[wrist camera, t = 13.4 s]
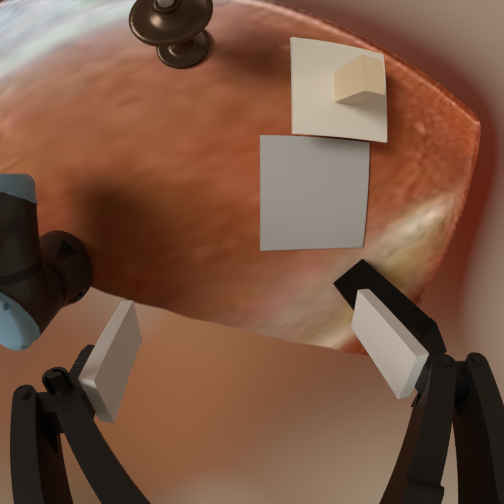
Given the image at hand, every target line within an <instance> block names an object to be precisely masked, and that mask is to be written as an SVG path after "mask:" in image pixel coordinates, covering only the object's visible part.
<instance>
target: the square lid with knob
mask: <svg viewBox="0 0 504 504" xmlns="http://www.w3.org/2000/svg"><path fill="white" fill-rule="evenodd" d="M290 50H291V91H292V134H305V135H320V136H332V137H343V138H352V139H361V140H369V141H377V142H384V143H387V99H386V79H385V66H384V55H383V54H381V53H377V52H373V51H369V50H365V49H361V48H356V47H352V46H347V45H342V44H337V43H331V42H325V41H319V40H312V39H304V38H296V37H291V38H290Z"/></svg>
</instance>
